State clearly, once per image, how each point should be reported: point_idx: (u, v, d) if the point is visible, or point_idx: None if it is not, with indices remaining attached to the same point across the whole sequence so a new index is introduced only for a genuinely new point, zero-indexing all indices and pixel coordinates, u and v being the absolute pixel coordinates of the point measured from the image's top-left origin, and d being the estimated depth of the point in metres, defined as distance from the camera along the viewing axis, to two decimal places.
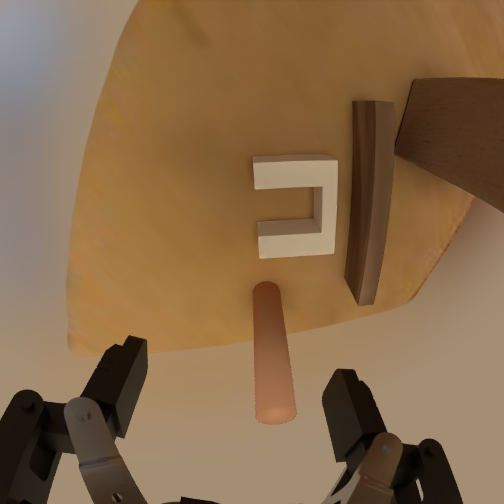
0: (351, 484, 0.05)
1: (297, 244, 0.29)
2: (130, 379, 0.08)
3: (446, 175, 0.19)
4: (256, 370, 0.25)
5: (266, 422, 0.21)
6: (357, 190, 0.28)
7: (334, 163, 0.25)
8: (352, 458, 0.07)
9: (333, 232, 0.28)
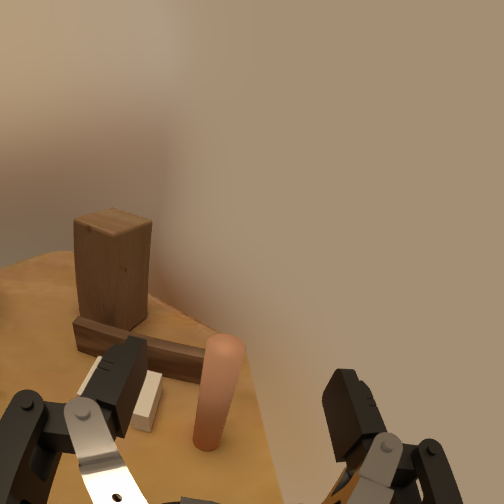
0: (351, 484, 0.05)
1: (145, 391, 0.31)
2: (130, 379, 0.08)
3: (113, 291, 0.40)
4: (208, 389, 0.24)
5: (239, 354, 0.23)
6: None
7: (99, 357, 0.34)
8: (352, 458, 0.07)
9: None
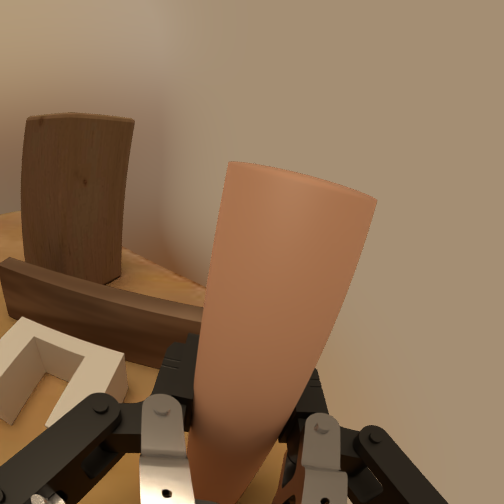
0: (298, 477, 0.06)
1: (86, 386, 0.14)
2: None
3: (61, 212, 0.22)
4: (228, 374, 0.06)
5: (366, 198, 0.06)
6: (74, 328, 0.20)
7: (22, 319, 0.16)
8: (291, 439, 0.08)
9: (92, 345, 0.17)
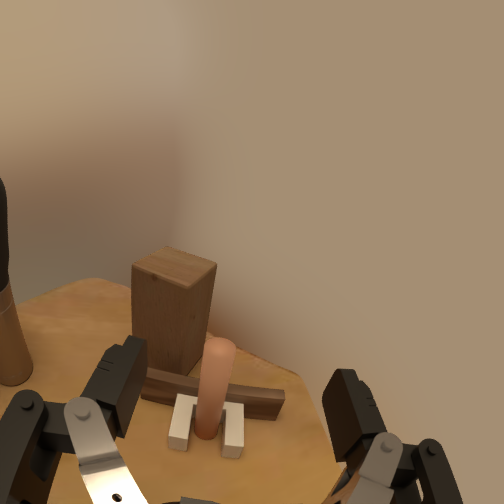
0: (351, 484, 0.05)
1: (234, 423, 0.34)
2: (130, 379, 0.08)
3: (183, 339, 0.40)
4: (206, 383, 0.29)
5: (231, 354, 0.29)
6: None
7: (179, 395, 0.37)
8: (352, 458, 0.07)
9: (227, 402, 0.38)
